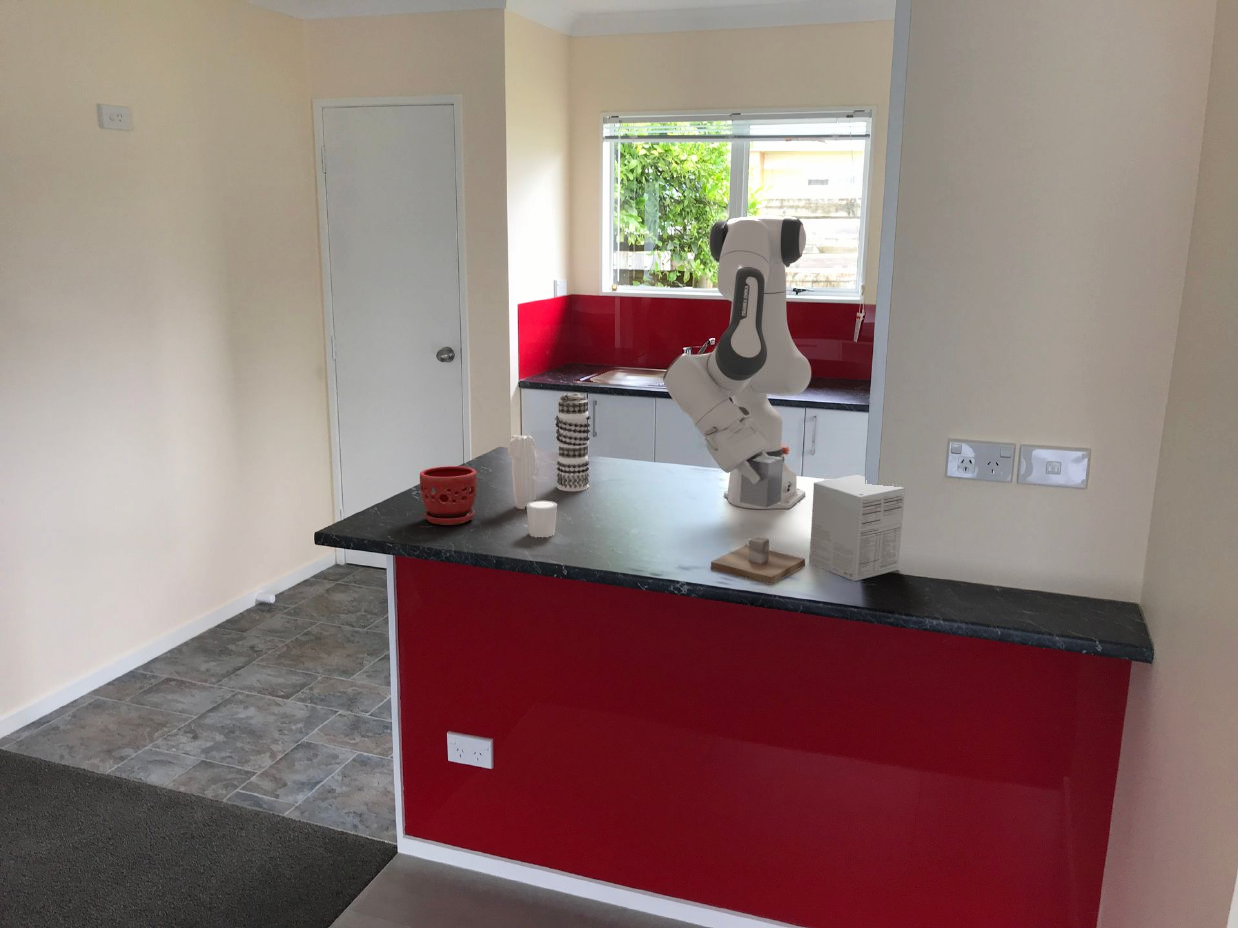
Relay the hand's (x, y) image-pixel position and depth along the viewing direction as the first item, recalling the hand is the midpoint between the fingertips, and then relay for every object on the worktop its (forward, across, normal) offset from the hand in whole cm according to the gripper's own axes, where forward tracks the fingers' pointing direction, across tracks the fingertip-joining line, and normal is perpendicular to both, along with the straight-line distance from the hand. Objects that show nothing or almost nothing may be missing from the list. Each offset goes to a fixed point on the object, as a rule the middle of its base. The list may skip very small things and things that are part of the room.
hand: (765, 476), depth 194 cm
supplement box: (+25, +10, +2) cm, 27 cm away
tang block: (+13, 0, +14) cm, 19 cm away
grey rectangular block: (+3, 0, +4) cm, 5 cm away
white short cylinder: (-22, -3, +50) cm, 55 cm away
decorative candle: (-32, +35, +60) cm, 77 cm away
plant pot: (-40, -5, +67) cm, 78 cm away
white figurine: (-33, +13, +61) cm, 70 cm away
